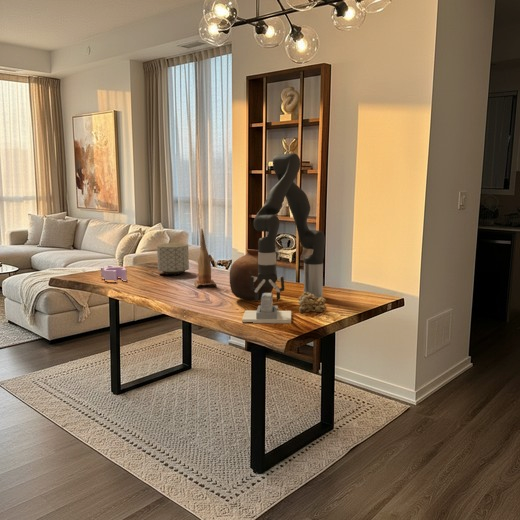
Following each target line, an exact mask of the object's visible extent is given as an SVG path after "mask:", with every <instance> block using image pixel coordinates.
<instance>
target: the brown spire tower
mask: <svg viewBox="0 0 520 520" xmlns="http://www.w3.org/2000/svg"><path fill="white" fill-rule="evenodd" d="M211 262H212V261H211V258H210V255H209V253H208V249H207V245H206V240H205V232H204V229H203V228H201V229H200V248H199V253H198V258H197V270H198V271H197V272H198V273H197V275H198V280H195V281H194V286H195V288H196V289H198V287H199V286H202V285H213V286H215V287H217V284H216V282H215V281H214V280H213V279H212V265H211V264H212V263H211Z"/></svg>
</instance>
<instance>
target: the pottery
mask: <svg viewBox="0 0 520 520" xmlns="http://www.w3.org/2000/svg"><path fill="white" fill-rule="evenodd" d="M246 251H247V253H246V254H244V255H242V256H241V257H239V258H237V259H236V260H235V261H233V263H232V264H231V266H230V269H229V287H230V290H231V293H232V294H233V296H235V297H236V298H237V299H240V300H245V301H248V302H259V301H261V297H262V294H263V293H273V292H272V291H273V289H275V288H274V287H273V286H272V287H263V286H261V288H260V289H259V290H258V301H256V300H255V292H254V291H251V290H250V283H251V276H254V277H258V249H249V248H246ZM277 274H278V273H277V270H276V275H277ZM277 276H278V275H277ZM258 284H259V281H258V280H257V279H256V281H255V282H254V288H256V287H257V286H258Z"/></svg>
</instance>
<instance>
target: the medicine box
mask: <svg viewBox="0 0 520 520" xmlns="http://www.w3.org/2000/svg"><path fill="white" fill-rule="evenodd" d="M273 296H274V295H273V292H271V293H263V294H262V297H261V300H260V305H261V312H273V306H274V304H273V302H274V301H273Z"/></svg>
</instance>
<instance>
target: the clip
mask: <svg viewBox="0 0 520 520" xmlns="http://www.w3.org/2000/svg"><path fill="white" fill-rule="evenodd" d="M101 277H104V279H105V280H114V281H117V282H118V279H117V277H121V279H120V280H122V279H123V280H127V281H128V276H127V269H126V267H124V266H116V265H107V267H105V266H100V278H101ZM104 279H103V280H104Z"/></svg>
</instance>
